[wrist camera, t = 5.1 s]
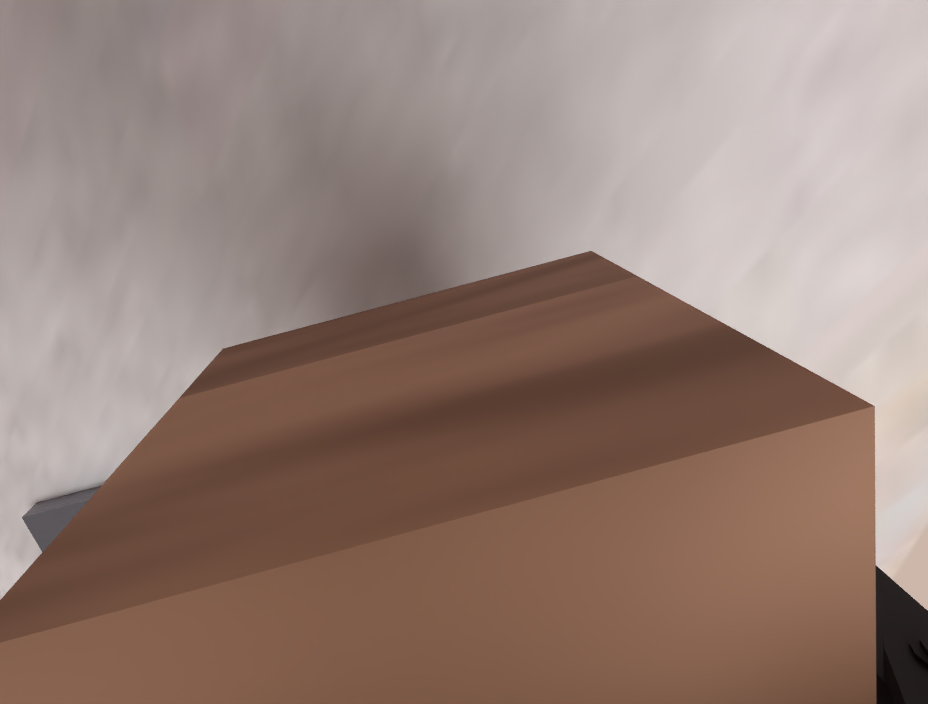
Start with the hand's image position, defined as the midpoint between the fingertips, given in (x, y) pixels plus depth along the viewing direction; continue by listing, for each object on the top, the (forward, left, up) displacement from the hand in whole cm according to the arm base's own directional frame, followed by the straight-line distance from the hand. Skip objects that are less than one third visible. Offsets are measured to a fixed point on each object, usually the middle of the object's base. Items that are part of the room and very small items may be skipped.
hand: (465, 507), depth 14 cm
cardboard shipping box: (0, 0, 0) cm, 0 cm away
